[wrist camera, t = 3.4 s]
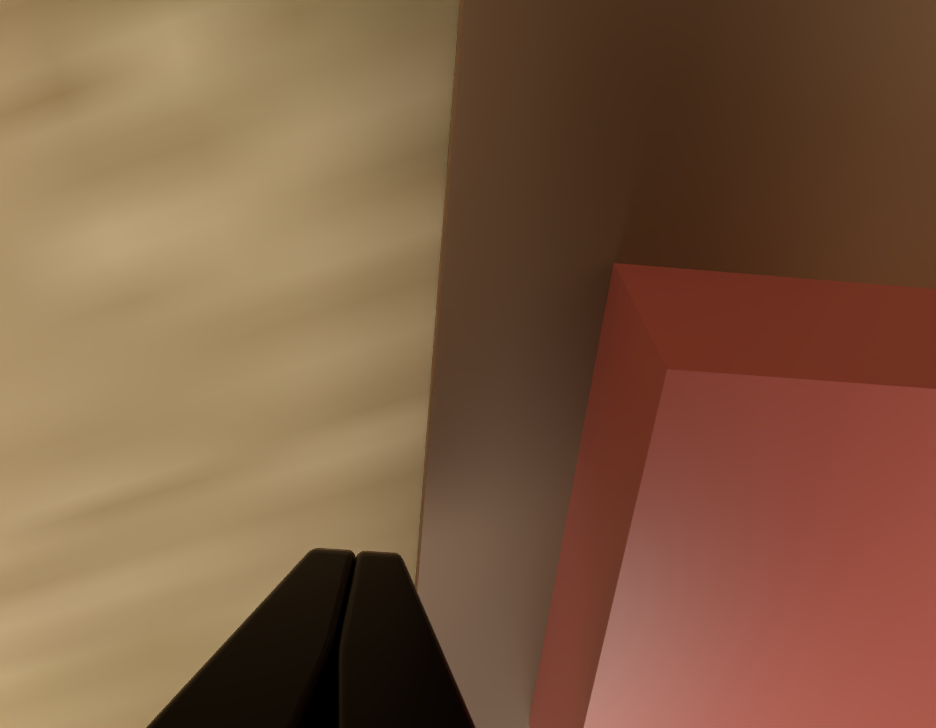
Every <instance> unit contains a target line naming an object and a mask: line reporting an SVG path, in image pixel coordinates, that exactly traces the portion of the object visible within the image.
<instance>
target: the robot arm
mask: <svg viewBox="0 0 936 728" xmlns="http://www.w3.org/2000/svg"><path fill="white" fill-rule="evenodd" d="M146 728H476V727H475V725H474V722H473V720H472V718H471V715H470V713H469V711H468V708H467V706H466V704H465V701H464V699H463V697H462V695H461V692H460V690H459V688H458V685H457V683H456V681H455V678H454V676H453V674H452V671H451V669H450V667H449V664H448V662H447V660H446V658H445V655H444V653H443V651H442V648H441V646H440V644H439V641H438V639H437V637H436V634H435V632H434V630H433V627H432V625H431V623H430V621H429V618H428V616H427V614H426V611H425V609H424V607H423V604H422V602H421V600H420V597H419V595H418V593H417V590H416V588H415V586H414V584H413V581H412V579H411V577H410V574H409V572H408V570H407V567H406V565H405V563H404V561H403V559H402V557H401V556H400V555H399V554H397V553H391V552H374V551H362V552H360V553H359V554H358V555H357V557H356V556H355V554H354V553H353V552H352V551H351V550H342V549H325V548H316V549H313V550H311V551H309V552H308V553H307V554H306V555H305V556H304V558H303V559H302V560H301V561H300V562H299V563H298V564H297V565H296V566H295V567H294V568H293V569H292V571H291V572H290V573H289V574H288V575H287V576H286V577H285V578H284V579H283V580H282V581H281V582H280V584H279V585H278V586H277V587H276V588H275V589H274V590H273V591H272V592H271V593H270V594H269V595H268V597H267V598H266V599H265V600H264V601H263V602H262V603H261V604H260V605H259V606H258V607H257V608H256V609H255V611H254V612H253V613H252V614H251V615H250V616H249V617H248V618H247V619H246V620H245V621H244V622H243V624H242V625H241V626H240V627H239V628H238V629H237V630H236V631H235V632H234V633H233V634H232V635H231V637H230V638H229V639H228V640H227V641H226V642H225V643H224V644H223V645H222V646H221V647H220V648H219V650H218V651H217V652H216V653H215V654H214V655H213V656H212V657H211V658H210V659H209V660H208V661H207V662H206V664H205V665H204V666H203V667H202V668H201V669H200V670H199V671H198V672H197V673H196V674H195V675H194V677H193V678H192V679H191V680H190V681H189V682H188V683H187V684H186V685H185V686H184V687H183V688H182V690H181V691H180V692H179V693H178V694H177V695H176V696H175V697H174V698H173V699H172V700H171V701H170V702H169V704H168V705H167V706H166V707H165V708H164V709H163V710H162V711H161V712H160V713H159V714H158V715H157V717H156V718H155V719H154V720H153V721H152V722H151V723H150V724H149V725H148V726H147V727H146Z"/></svg>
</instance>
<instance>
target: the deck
mask: <svg viewBox="0 0 936 728" xmlns="http://www.w3.org/2000/svg"><path fill="white" fill-rule="evenodd" d="M614 263H620V264H632V265H644V266H657V267H669V268H682V269H694V270H706V271H719V272H731V273H744V274H756V275H768V276H781V277H793V278H806V279H818V280H830V281H843V282H855V283H868V284H880V285H892V286H905V287H917V288H930V289H936V0H460V6H459V19H458V32H457V45H456V58H455V72H454V85H453V98H452V111H451V124H450V137H449V150H448V163H447V176H446V189H445V202H444V215H443V228H442V241H441V254H440V267H439V280H438V293H437V306H436V319H435V332H434V345H433V358H432V371H431V384H430V397H429V410H428V423H427V436H426V449H425V462H424V475H423V488H422V502H421V515H420V528H419V541H418V554H417V567H416V580H415V588H416V590H417V593H418V595H419V597H420V600H421V602H422V604H423V607H424V609H425V611H426V614H427V616H428V618H429V621H430V623H431V625H432V627H433V630H434V632H435V634H436V637H437V639H438V641H439V644H440V646H441V648H442V651H443V653H444V655H445V658H446V660H447V662H448V664H449V667H450V669H451V671H452V674H453V676H454V678H455V681H456V683H457V685H458V688H459V690H460V692H461V695H462V697H463V699H464V701H465V704H466V706H467V708H468V711H469V713H470V715H471V718H472V720H473V722H474V725H475V727H476V728H530V725H529V719H530V713H531V708H532V702H533V697H534V692H535V686H536V681H537V675H538V670H539V665H540V659H541V654H542V648H543V643H544V638H545V632H546V627H547V621H548V616H549V610H550V605H551V600H552V594H553V589H554V583H555V578H556V573H557V567H558V562H559V556H560V551H561V545H562V540H563V535H564V529H565V524H566V518H567V513H568V508H569V502H570V497H571V491H572V486H573V481H574V475H575V470H576V464H577V459H578V453H579V448H580V443H581V437H582V432H583V426H584V421H585V416H586V410H587V405H588V399H589V394H590V388H591V383H592V378H593V372H594V367H595V361H596V356H597V351H598V345H599V340H600V334H601V329H602V324H603V318H604V313H605V307H606V302H607V296H608V291H609V286H610V280H611V275H612V269H613V264H614Z"/></svg>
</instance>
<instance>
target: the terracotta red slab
mask: <svg viewBox="0 0 936 728" xmlns="http://www.w3.org/2000/svg"><path fill="white" fill-rule="evenodd" d="M529 725H530V728H936V289H930V288H917V287H905V286H892V285H880V284H868V283H855V282H843V281H830V280H818V279H806V278H793V277H781V276H768V275H756V274H744V273H731V272H719V271H706V270H694V269H682V268H669V267H657V266H644V265H632V264H620V263H614V264H613V269H612V275H611V280H610V286H609V291H608V296H607V302H606V307H605V313H604V318H603V324H602V329H601V334H600V340H599V345H598V351H597V356H596V361H595V367H594V372H593V378H592V383H591V388H590V394H589V399H588V405H587V410H586V416H585V421H584V426H583V432H582V437H581V443H580V448H579V453H578V459H577V464H576V470H575V475H574V481H573V486H572V491H571V497H570V502H569V508H568V513H567V518H566V524H565V529H564V535H563V540H562V545H561V551H560V556H559V562H558V567H557V573H556V578H555V583H554V589H553V594H552V600H551V605H550V610H549V616H548V621H547V627H546V632H545V638H544V643H543V648H542V654H541V659H540V665H539V670H538V675H537V681H536V686H535V692H534V697H533V702H532V708H531V713H530V719H529Z"/></svg>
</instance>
